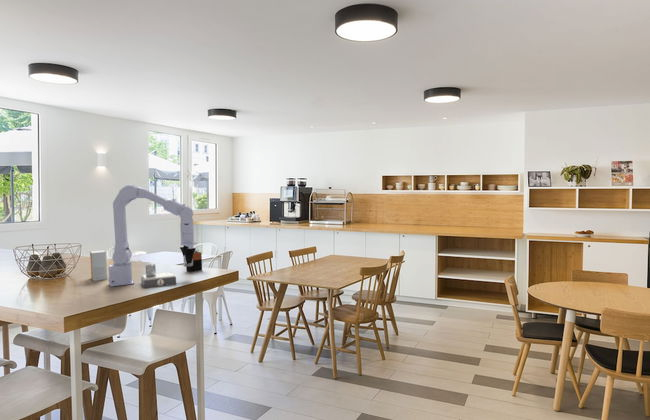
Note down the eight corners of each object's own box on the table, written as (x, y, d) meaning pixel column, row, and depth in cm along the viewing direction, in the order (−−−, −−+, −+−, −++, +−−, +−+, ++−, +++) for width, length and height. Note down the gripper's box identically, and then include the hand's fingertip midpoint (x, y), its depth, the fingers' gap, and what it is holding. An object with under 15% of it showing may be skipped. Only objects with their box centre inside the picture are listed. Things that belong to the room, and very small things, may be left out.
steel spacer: (184, 267, 202) (184, 255, 202) (183, 265, 206) (182, 254, 205) (193, 266, 204) (193, 255, 204) (192, 264, 207) (191, 254, 207)
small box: (91, 278, 213) (89, 251, 213) (105, 276, 217) (104, 249, 216) (92, 280, 206) (91, 253, 206) (107, 279, 210) (106, 251, 209)
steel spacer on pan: (146, 277, 192) (146, 265, 192) (145, 276, 196) (144, 264, 196) (156, 276, 194) (155, 264, 194) (155, 275, 198) (154, 263, 198)
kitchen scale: (144, 288, 188) (144, 279, 188) (141, 283, 199) (140, 275, 198) (176, 284, 194) (176, 276, 194) (171, 279, 205) (171, 271, 205)
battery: (202, 270, 228) (201, 250, 228) (191, 272, 223) (190, 252, 222) (197, 269, 231) (196, 250, 230) (186, 271, 225) (185, 251, 225)
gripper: (199, 233, 199) (200, 264, 200) (192, 231, 212) (193, 259, 213) (183, 234, 196) (184, 265, 197) (177, 232, 209) (178, 261, 209)
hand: (188, 262), depth 205 cm, fingers closed on steel spacer, 4 cm apart
